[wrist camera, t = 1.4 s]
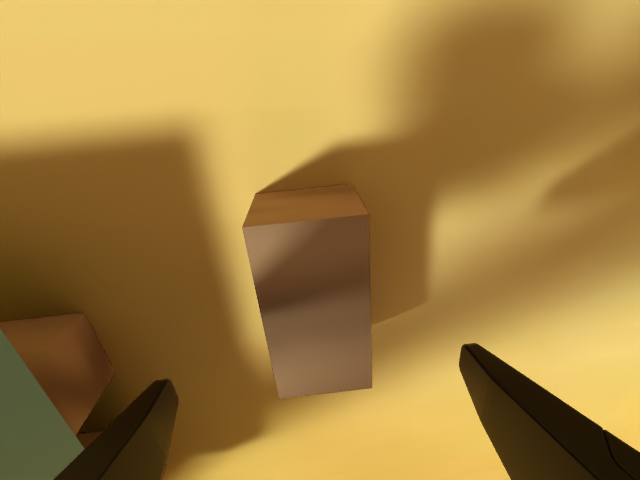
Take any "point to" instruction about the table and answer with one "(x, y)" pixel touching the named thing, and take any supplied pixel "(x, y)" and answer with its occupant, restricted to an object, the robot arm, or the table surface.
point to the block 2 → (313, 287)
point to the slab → (30, 424)
